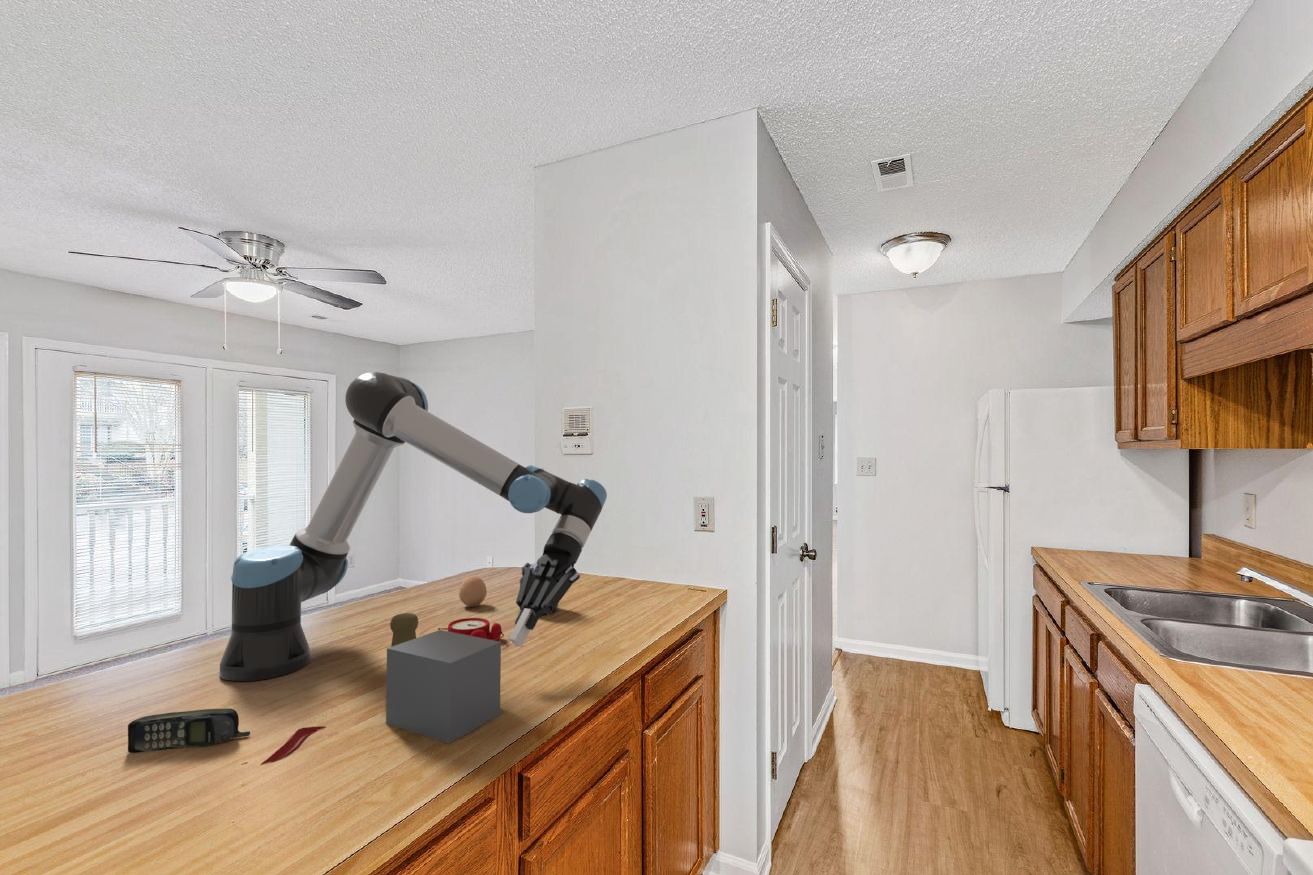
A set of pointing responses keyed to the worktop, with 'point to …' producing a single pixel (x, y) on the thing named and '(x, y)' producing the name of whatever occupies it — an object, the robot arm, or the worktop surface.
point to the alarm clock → (475, 628)
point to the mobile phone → (183, 730)
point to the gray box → (443, 684)
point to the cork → (403, 628)
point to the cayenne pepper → (292, 743)
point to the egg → (472, 591)
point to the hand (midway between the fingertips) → (515, 642)
